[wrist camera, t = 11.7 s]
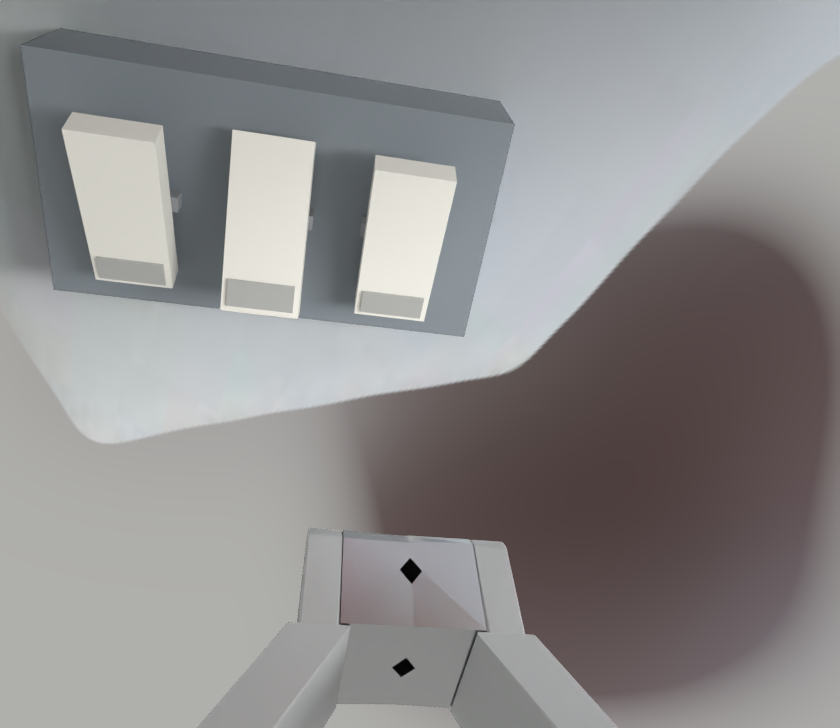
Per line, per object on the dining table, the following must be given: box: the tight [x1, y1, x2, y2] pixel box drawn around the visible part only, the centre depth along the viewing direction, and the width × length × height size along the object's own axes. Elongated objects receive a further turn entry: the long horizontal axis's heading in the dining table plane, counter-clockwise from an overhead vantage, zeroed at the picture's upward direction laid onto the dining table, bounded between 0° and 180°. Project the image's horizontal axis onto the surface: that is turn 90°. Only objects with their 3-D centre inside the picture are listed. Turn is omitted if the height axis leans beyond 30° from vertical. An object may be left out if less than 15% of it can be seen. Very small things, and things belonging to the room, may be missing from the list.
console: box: [21, 28, 515, 337], centre depth 39 cm, size 24×13×6 cm, turn 80°
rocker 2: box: [220, 129, 316, 319], centre depth 36 cm, size 4×9×2 cm, turn 171°
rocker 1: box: [62, 112, 178, 288], centre depth 35 cm, size 4×9×2 cm, turn 171°
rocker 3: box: [354, 155, 457, 322], centre depth 37 cm, size 4×9×2 cm, turn 170°
